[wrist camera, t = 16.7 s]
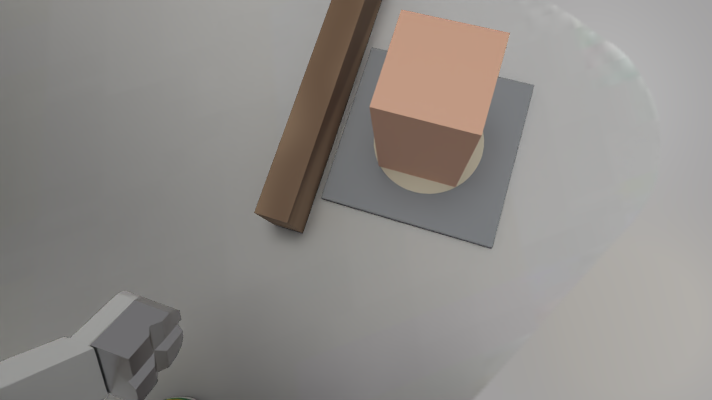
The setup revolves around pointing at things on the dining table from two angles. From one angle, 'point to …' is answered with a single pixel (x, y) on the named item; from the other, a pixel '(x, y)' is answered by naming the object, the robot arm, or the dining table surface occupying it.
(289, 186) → the low wall
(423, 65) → the post
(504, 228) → the dining table surface
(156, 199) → the dining table surface
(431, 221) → the mat
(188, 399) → the supplement bottle
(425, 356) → the dining table surface
